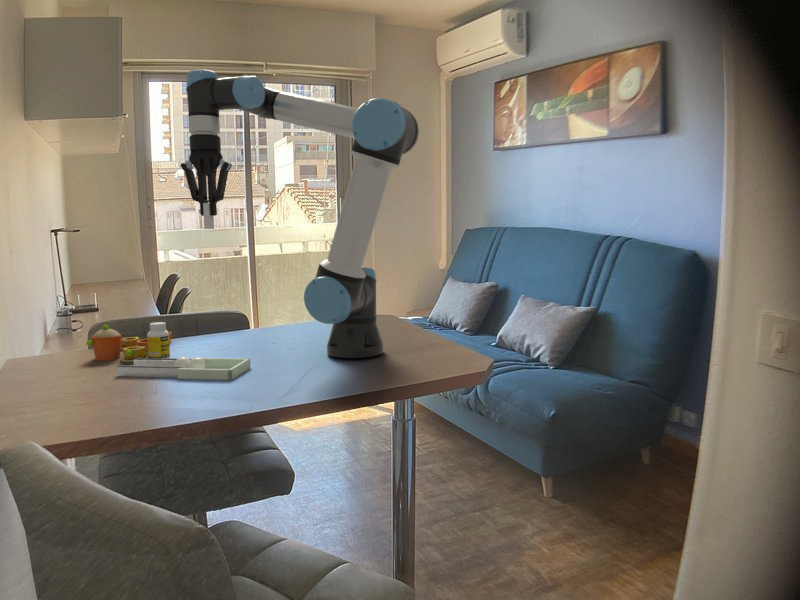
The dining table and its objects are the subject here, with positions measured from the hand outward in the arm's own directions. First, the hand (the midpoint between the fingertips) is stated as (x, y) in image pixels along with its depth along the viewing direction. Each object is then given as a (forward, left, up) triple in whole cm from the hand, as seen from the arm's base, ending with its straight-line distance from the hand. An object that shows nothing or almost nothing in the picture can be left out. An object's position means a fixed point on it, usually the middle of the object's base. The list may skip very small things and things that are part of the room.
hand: (209, 228), depth 163 cm
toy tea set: (+26, -6, -35) cm, 44 cm away
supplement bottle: (+15, +1, -35) cm, 38 cm away
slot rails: (+8, +15, -34) cm, 38 cm away
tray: (-6, +15, -34) cm, 38 cm away
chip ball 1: (+2, +15, -34) cm, 38 cm away
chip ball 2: (-3, +15, -31) cm, 35 cm away
